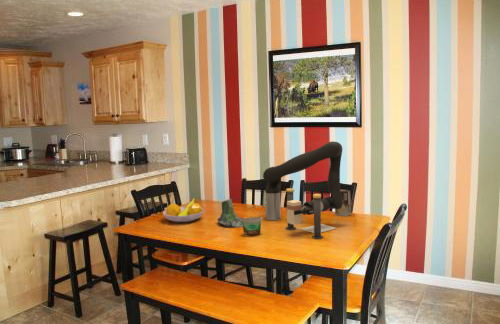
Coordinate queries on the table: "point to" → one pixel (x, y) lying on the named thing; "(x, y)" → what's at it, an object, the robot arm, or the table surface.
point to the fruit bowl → (183, 212)
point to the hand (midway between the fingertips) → (290, 211)
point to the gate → (316, 213)
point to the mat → (323, 228)
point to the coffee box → (344, 204)
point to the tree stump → (229, 215)
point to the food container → (251, 226)
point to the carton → (292, 207)
